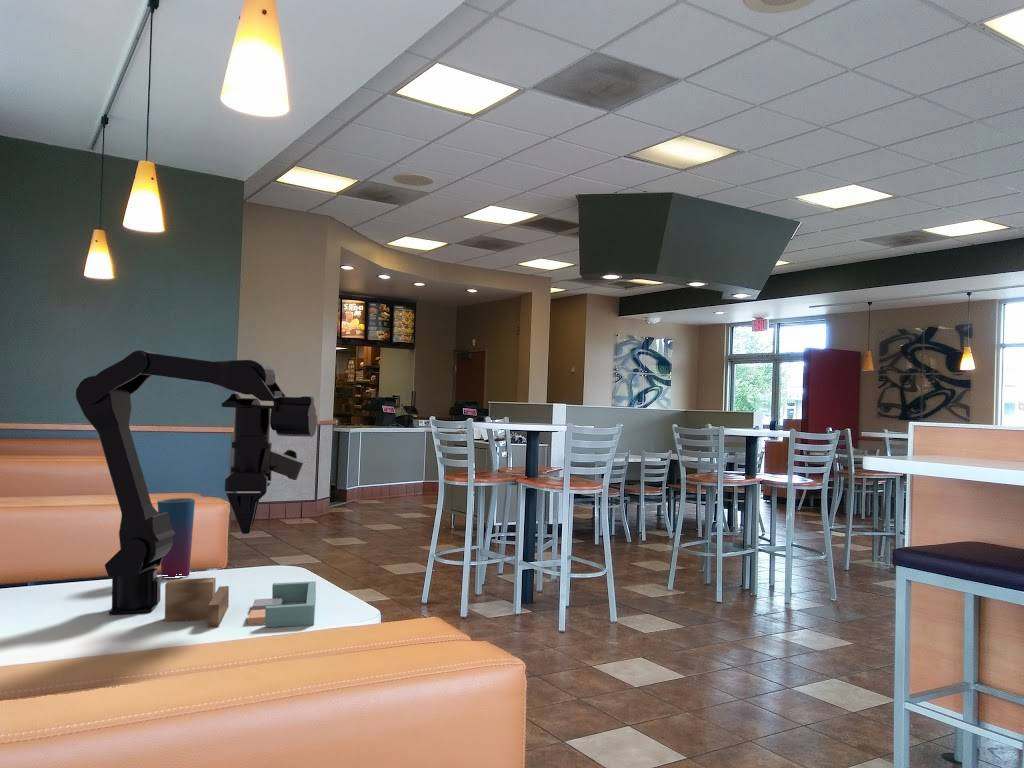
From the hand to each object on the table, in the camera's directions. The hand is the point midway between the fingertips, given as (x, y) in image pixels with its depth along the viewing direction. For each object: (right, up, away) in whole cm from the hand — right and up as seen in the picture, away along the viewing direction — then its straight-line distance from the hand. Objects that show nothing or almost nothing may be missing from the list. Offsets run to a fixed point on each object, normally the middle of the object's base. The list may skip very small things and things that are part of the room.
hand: (248, 528), depth 128 cm
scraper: (-7, -13, -6) cm, 16 cm away
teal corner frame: (+7, -13, -2) cm, 15 cm away
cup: (-22, -14, +23) cm, 35 cm away
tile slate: (+3, -14, 0) cm, 14 cm away
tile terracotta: (+5, -14, -7) cm, 16 cm away
